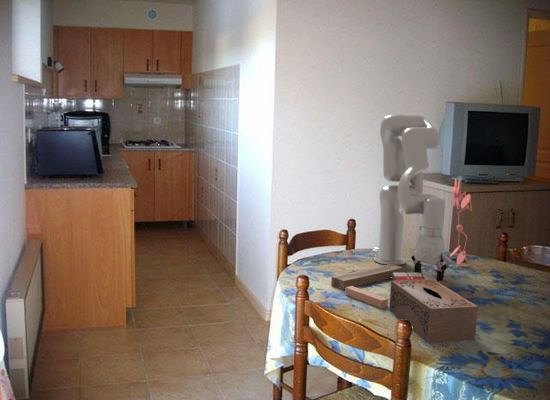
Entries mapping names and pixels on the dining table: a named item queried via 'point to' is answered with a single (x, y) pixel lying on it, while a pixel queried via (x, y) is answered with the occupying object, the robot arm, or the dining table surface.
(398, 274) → the calculator
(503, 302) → the dining table surface
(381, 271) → the brown wooden plank
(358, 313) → the dining table surface
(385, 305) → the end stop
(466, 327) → the tissue box cover
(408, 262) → the dining table surface
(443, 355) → the dining table surface
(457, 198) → the leafy plant stem
